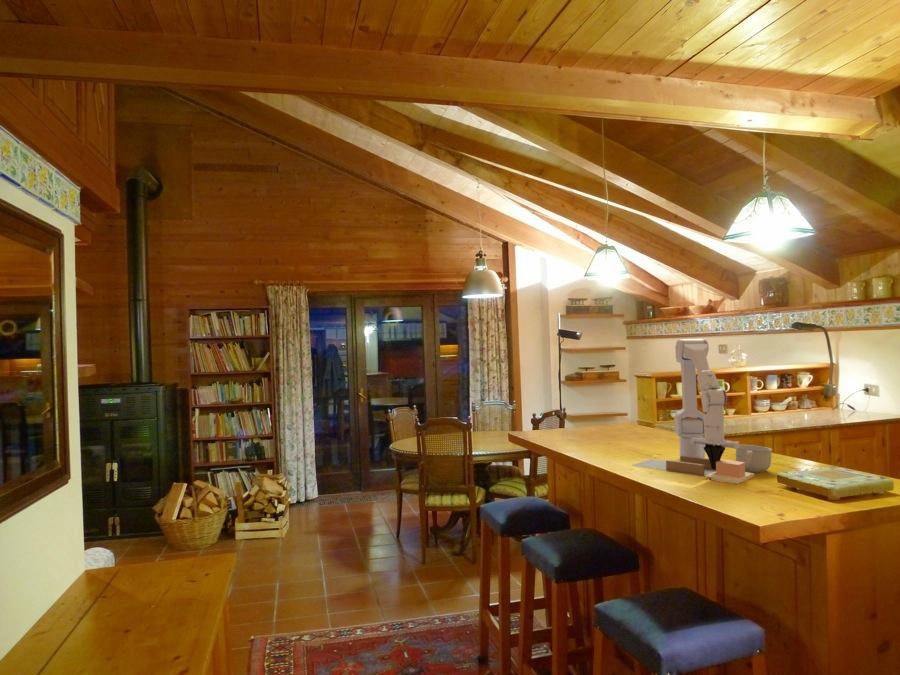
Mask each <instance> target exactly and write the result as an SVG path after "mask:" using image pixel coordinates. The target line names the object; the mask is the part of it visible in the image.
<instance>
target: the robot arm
mask: <svg viewBox="0 0 900 675" xmlns="http://www.w3.org/2000/svg"><path fill="white" fill-rule="evenodd" d="M709 347H710V346H709V342H708V340H707V339H706V338H696V339H695V338H693V339H692V338H688V339H687V338H685V339H684V338H678V340H677V341H676V343H675V347H674V349H675V361H676V362H678V363H679V364H680V371H681V372H680V374H681V397H682V398H681V399H682V403H681V404H682V408H681V409H680V410H678V411H677V412H676V413H675V414H674V421H673V422H674V423H673V430H674V433H675V434H676V435H677V436H679V443H678V444H679V457H680V456H682V455H684V456H692V457H700V458H706V455H707V457H708V459H709V460H710V464H711V468H712V469H716V462H717V461H720V460H722V456H723V454H724V452H725V450H726V448H729V449H734V450H736V449H738V448H739V445H740V442H739V441H734V440H733V441H732V440H728V439H725V416H724V415H725V414H724V413H725V411H724V410H725V409H724V407H726V405H727V401H728V395H727V393H726V392H727V391H726V389H724V387H722V386H720V384H719V382H718V379H717V377H716V374H715V372H713V371H712V370H710V367H709V366H710V365H709V362H708V358H707V357H708V354H709V350H710V349H709ZM696 372H698V374H697V373H696ZM696 374H697V375H696ZM697 383H698V386H699V389H700V392H701V395H700V396H701V397H700V400H701V405H702V411H703V412H702V411H700V410H698V400H697V399H698V398H697V396H698V395H697ZM703 436H704V437H703Z"/></svg>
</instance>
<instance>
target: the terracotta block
mask: <svg viewBox="0 0 900 675" xmlns="http://www.w3.org/2000/svg"><path fill="white" fill-rule="evenodd" d="M745 472H746V471H745V462H738V461H736V460H728V459H720V461H717V462H716V475H723V476H730V477H737V478H740V477H742V476H744V475H745Z"/></svg>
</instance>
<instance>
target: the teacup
mask: <svg viewBox="0 0 900 675" xmlns="http://www.w3.org/2000/svg"><path fill="white" fill-rule="evenodd" d="M772 452H773V449H772V448H770V447H766V446H762V445H755V444H739V448H738V449H735V461H738V462H745V472H749V473H759V472H760V473H764V472H766V471H767V470H768V469H770V467H771V463H772Z"/></svg>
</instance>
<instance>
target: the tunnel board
mask: <svg viewBox="0 0 900 675" xmlns="http://www.w3.org/2000/svg"><path fill="white" fill-rule="evenodd" d="M631 466H633V467H640V468H647V469H653V470H661V471H667V472H676V473H679V474H680V473H681V474H689V475H696V476H704V477H708V478H706V480H707V479H711V480H710V481H714V480H715V481H716V482H723V483H727V484H734V483H735V484H736V485H739V484H740V483H742V482H745V481H748V480H749V479H751V477H752V478H754V477H755V472H749V471H745V475H744V476H742V477H740V478H737V477H730V476H723V475H716V469H712V468H711V464H710V460H709V458H707V457H705V458H700V457H692V456H684V455H682V456H680V455H679V461H678V460H672V459H666V460H658V459H647V460H644V461H640V462H637V463H634V464H632V465H631ZM753 476H754V477H753Z"/></svg>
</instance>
